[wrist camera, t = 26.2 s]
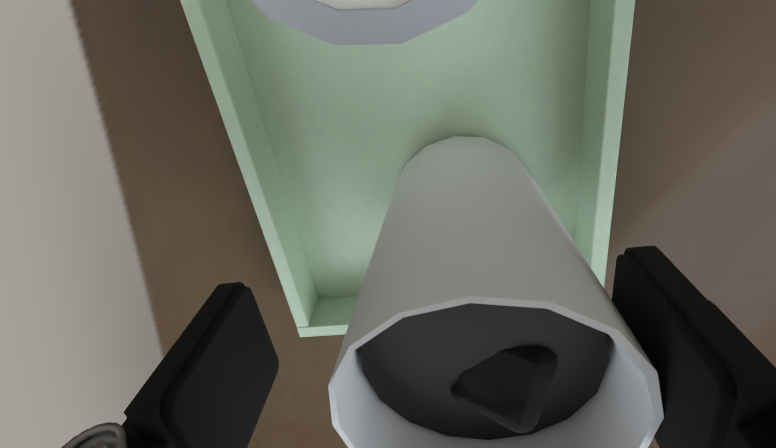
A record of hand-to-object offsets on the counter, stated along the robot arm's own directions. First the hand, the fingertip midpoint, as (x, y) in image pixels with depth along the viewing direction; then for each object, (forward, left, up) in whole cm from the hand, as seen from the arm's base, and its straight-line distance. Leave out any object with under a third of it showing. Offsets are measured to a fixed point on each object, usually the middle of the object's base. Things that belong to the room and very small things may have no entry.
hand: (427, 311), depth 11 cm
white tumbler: (-1, -1, -8) cm, 8 cm away
